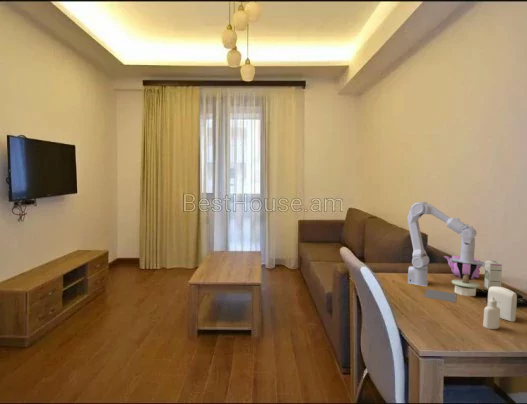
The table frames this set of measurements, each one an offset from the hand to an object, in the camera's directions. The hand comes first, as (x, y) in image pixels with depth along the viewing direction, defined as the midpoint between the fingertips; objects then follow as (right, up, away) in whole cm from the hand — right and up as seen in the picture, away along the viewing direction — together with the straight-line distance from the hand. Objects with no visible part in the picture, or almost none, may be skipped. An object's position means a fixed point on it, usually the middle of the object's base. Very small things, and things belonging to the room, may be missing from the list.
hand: (465, 278), depth 166 cm
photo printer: (-1, -10, -27) cm, 28 cm away
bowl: (0, -8, +1) cm, 8 cm away
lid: (0, -3, 0) cm, 3 cm away
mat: (-14, -8, -4) cm, 17 cm away
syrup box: (+19, -7, +8) cm, 21 cm away
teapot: (+15, -6, +30) cm, 34 cm away
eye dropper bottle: (-12, -11, -36) cm, 40 cm away
